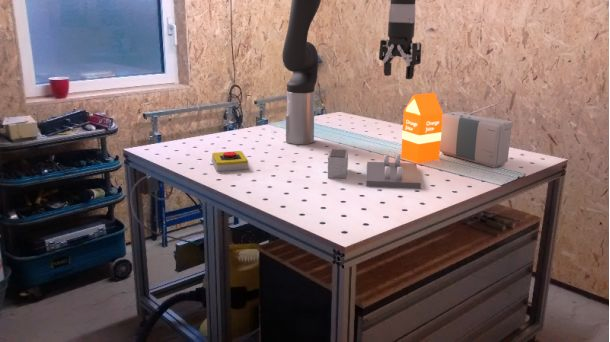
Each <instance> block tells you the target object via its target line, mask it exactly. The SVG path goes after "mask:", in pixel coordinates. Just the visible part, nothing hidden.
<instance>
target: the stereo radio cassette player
mask: <svg viewBox="0 0 610 342" xmlns="http://www.w3.org/2000/svg"><path fill="white" fill-rule="evenodd" d="M510 100H512V98H511V97H509V98H507V99H505V100H501V101H499V102H496V103H493V104H490V105H488V106H485V107H482V108H480V109H477V110H475V111H472V112H470V113H469V112H464V111H453V112H452V111H451V112H447V113H446V112H445V113H443V116H442V128H441V141H440V153H441V154H443V155H446V156H450V157H453V158H459V159H462V160H466V161H470V162H473V163H477V164H480V165H484V166H489V167H491V168H493V169H495V168H497V167H500V166H502V165H505V164H506V163H507V162H508V160H509V153H510V143H511V138H512V137H511V134H512V128H513V126H514V124H513V121H512V120H511V121H510V120H505V119H500V118H496V117H490V116H486V115H485V116H484V115H479V114H476V113H478V112H481V111H484V110H486V109H488V108H489V109H490V108H492V107H494V106H497V105H499V104H501V103H504V102H506V101H510Z"/></svg>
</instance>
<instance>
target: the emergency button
mask: <svg viewBox="0 0 610 342" xmlns="http://www.w3.org/2000/svg"><path fill="white" fill-rule="evenodd" d="M211 154H212V156H211V158H212V159H211V160H210V161H211V163H212V165H213V168H214V169H215V172H216V173H217V174H220V175H221V174H233V173H244V172H246V173H247V172H250V168H249V160H248V158H247V157H246V155H245V153H243V151H241V150H235V151H222V152H220V151H219V152H213V153H211Z"/></svg>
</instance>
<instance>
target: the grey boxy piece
mask: <svg viewBox="0 0 610 342" xmlns="http://www.w3.org/2000/svg"><path fill="white" fill-rule="evenodd" d="M348 163H349V149H345V148H344V149H343V148H342V149H341V148H339V149H337V148H330V150H329V153H328V157H327V179H334V180H335V179H336V180H346V179H347V177H348V167H349V164H348Z"/></svg>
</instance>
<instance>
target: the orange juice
mask: <svg viewBox="0 0 610 342" xmlns="http://www.w3.org/2000/svg"><path fill="white" fill-rule="evenodd" d="M443 114H444V112H443V110H442V108H441V105H440V102H439V100H438V97H437V94H436V92H428V93H417V94H413V95H412V97H411V99H410V100H409V102H408V103H407V105H406V107H405V108H404V110H403V118H402V119H403V120H402V131H401V154H400V155H401V158H400V159H404V160H406V159H407V161H409V162H411V163H416V164H417V163H418V164H422V163H421V162H423V163H426V162H427V161H428V162H432V161H431V160H434V161H438V160H437V159H439V160H440V153H441V152H440V141H441V128H442V116H443Z"/></svg>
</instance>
